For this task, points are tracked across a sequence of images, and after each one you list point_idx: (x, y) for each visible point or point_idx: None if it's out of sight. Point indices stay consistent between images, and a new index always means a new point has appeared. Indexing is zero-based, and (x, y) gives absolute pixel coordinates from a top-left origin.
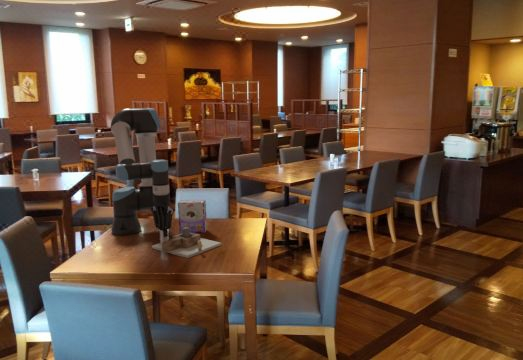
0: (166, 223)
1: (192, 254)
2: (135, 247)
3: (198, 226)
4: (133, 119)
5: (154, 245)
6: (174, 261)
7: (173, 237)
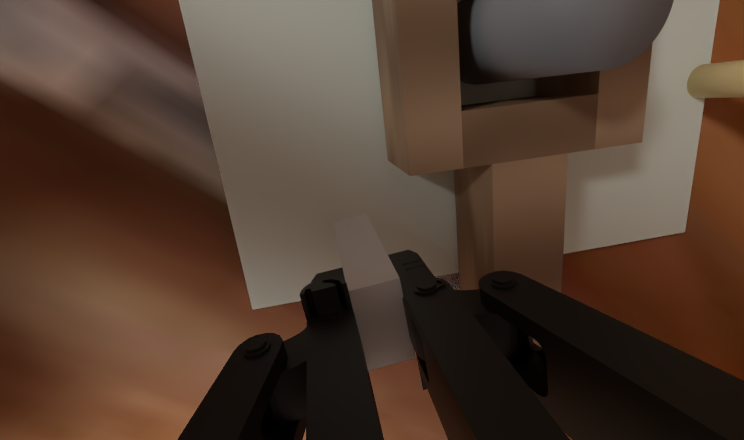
0: (581, 428)
1: (686, 178)
2: (122, 382)
3: None
4: None
5: (260, 286)
6: (630, 319)
7: (428, 170)
